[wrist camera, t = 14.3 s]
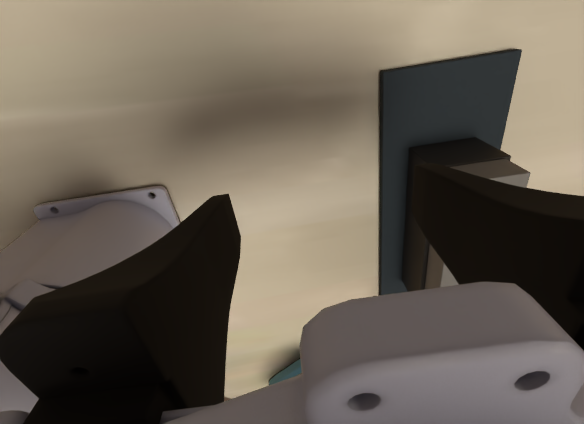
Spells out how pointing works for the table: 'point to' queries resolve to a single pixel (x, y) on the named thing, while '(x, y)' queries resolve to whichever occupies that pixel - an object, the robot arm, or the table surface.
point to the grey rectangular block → (465, 157)
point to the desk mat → (434, 130)
